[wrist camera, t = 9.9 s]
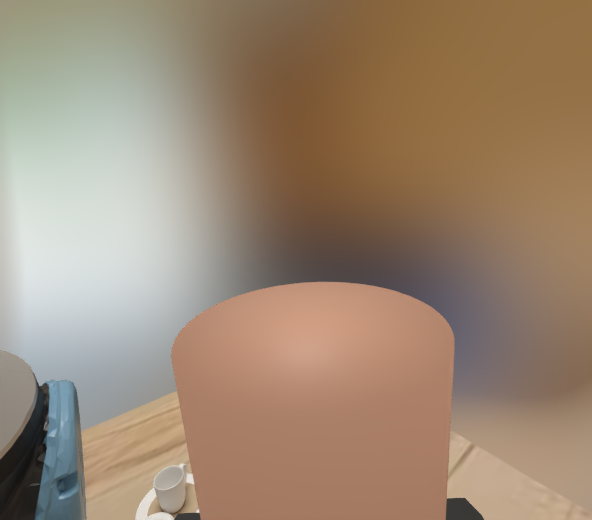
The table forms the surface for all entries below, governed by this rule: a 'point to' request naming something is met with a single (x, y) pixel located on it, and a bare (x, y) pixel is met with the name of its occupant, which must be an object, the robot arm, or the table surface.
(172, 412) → the table surface
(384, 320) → the dowel
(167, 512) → the teacup and saucer
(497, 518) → the table surface
